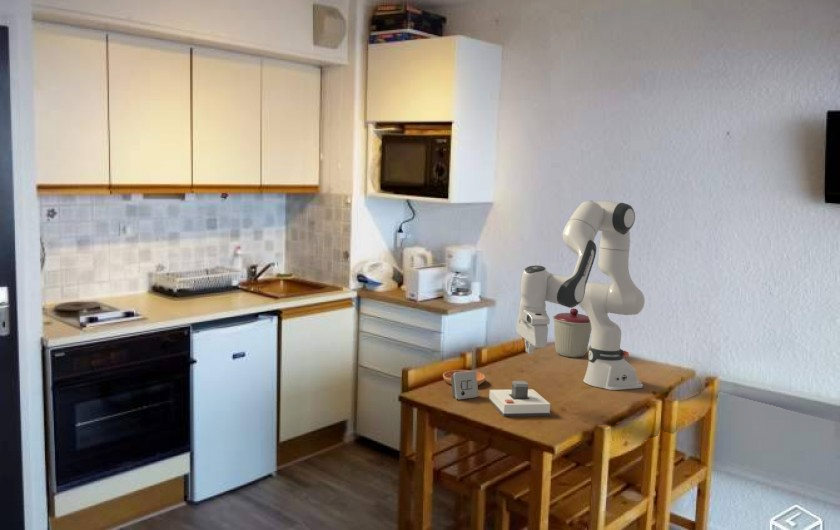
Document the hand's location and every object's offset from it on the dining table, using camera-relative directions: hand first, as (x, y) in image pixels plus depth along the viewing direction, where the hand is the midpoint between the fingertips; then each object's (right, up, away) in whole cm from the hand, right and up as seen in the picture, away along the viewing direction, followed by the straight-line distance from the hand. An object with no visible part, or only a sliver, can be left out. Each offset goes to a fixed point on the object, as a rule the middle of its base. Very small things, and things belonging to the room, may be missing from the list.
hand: (529, 353), depth 250 cm
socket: (-4, -19, -1) cm, 19 cm away
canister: (+30, -10, +76) cm, 83 cm away
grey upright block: (-4, -18, -2) cm, 18 cm away
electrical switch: (-22, -17, +8) cm, 29 cm away
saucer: (-21, -15, +25) cm, 36 cm away
